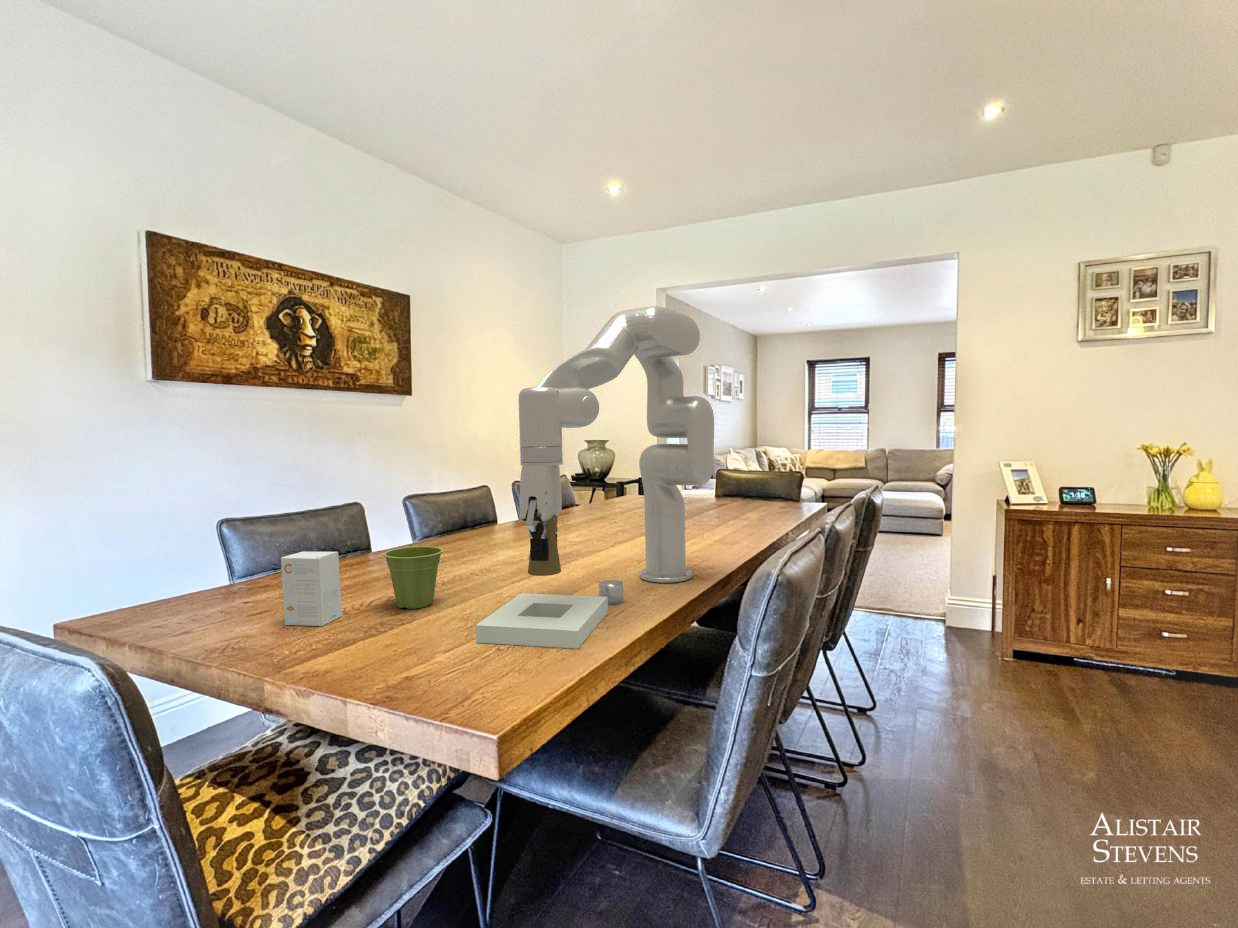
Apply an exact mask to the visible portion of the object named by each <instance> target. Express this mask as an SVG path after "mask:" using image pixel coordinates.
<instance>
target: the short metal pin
mask: <svg viewBox="0 0 1238 928" xmlns="http://www.w3.org/2000/svg"><path fill="white" fill-rule="evenodd" d="M598 597H608V606H619V605H622V604H624V602H625V601H624V600H625V598H624V582H623V581H622V580H619V579H606V580H601V581H599V583H598ZM621 603H622V604H621Z"/></svg>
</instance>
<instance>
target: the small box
mask: <svg viewBox="0 0 1238 928" xmlns="http://www.w3.org/2000/svg"><path fill="white" fill-rule="evenodd" d="M280 566H281V585H282V601H283V602H282V603H283V604H282V605H283V617H284V618H283V619H284V625H285V626H305V627H306V626H309V627H310V626H311V627H313V626H315V627H323V626H326V625H327V624H330V623H331V622H334V621H335V620H337V619H339V618H341V617H343V610H342V609H343V608H342V592H341V591H342V589H341V576H340V559H339V552H338V551H299V552H297V553H293V554H288V555H285V556H282V557H281V558H280Z"/></svg>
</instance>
